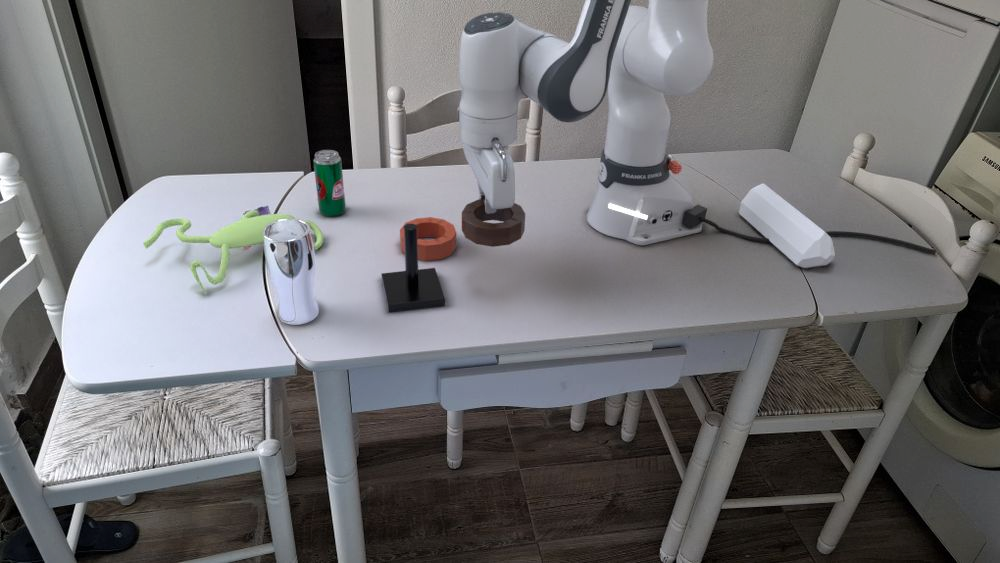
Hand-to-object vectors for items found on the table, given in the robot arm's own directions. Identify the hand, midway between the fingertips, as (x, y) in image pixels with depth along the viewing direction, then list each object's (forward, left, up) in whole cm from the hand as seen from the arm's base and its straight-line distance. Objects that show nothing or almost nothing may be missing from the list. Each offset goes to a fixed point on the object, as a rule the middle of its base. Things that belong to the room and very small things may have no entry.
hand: (487, 206), depth 113 cm
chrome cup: (+32, +7, -12) cm, 35 cm away
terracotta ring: (+9, -9, -12) cm, 17 cm away
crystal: (-59, +1, -12) cm, 60 cm away
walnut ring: (0, +4, -2) cm, 5 cm away
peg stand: (+14, +5, -12) cm, 19 cm away
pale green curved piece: (+42, -13, -12) cm, 45 cm away
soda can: (+25, -25, -12) cm, 37 cm away
